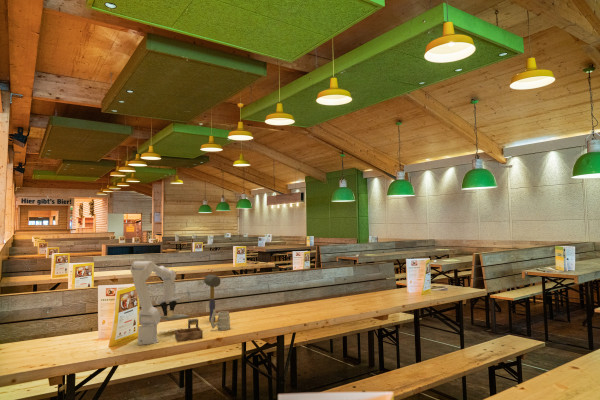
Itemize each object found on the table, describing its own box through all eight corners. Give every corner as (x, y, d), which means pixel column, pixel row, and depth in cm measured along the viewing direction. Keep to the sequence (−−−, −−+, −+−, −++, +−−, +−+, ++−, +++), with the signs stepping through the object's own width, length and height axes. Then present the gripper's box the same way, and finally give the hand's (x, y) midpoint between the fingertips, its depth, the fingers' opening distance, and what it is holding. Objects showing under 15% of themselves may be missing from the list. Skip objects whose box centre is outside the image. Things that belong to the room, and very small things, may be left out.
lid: (168, 320, 216) (168, 312, 216) (160, 318, 223) (160, 310, 223) (189, 317, 225) (189, 309, 226) (180, 315, 232) (180, 307, 233)
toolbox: (177, 341, 203) (177, 327, 204) (173, 334, 218) (173, 321, 218) (202, 338, 209) (202, 324, 210) (197, 331, 223) (197, 318, 224)
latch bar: (191, 324, 219) (191, 322, 219) (188, 321, 228) (188, 319, 228) (196, 324, 220) (196, 322, 220) (193, 320, 229) (193, 318, 229)
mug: (232, 329, 227) (231, 308, 228) (212, 332, 222) (212, 311, 223) (228, 326, 234) (228, 306, 235) (209, 329, 229) (209, 308, 230)
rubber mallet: (203, 320, 251) (203, 274, 254) (214, 319, 255) (214, 273, 258) (210, 324, 241) (210, 276, 243) (221, 322, 245) (221, 275, 248)
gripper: (159, 293, 215) (159, 318, 214) (183, 290, 225) (183, 313, 224) (154, 292, 219) (153, 316, 218) (177, 289, 230) (177, 312, 229)
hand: (168, 315), depth 222 cm, fingers closed on lid, 3 cm apart
